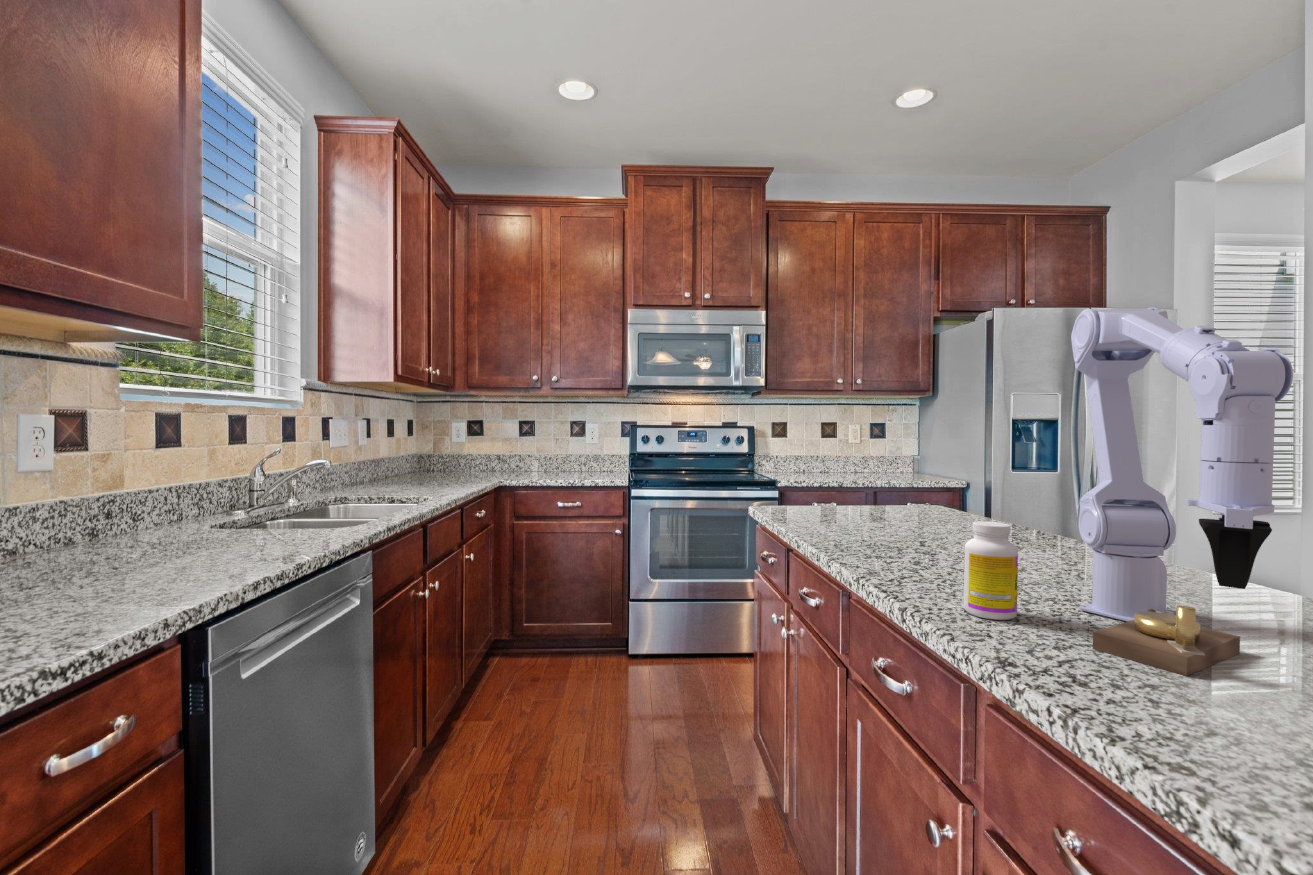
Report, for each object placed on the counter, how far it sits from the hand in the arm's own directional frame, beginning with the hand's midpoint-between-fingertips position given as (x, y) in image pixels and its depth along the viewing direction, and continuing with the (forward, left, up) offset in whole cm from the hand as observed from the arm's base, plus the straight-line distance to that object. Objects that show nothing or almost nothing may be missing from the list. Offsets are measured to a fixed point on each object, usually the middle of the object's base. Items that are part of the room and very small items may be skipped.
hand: (1231, 586), depth 66 cm
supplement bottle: (+4, -25, -10) cm, 27 cm away
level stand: (-1, -6, -9) cm, 11 cm away
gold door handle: (0, -5, -7) cm, 9 cm away
